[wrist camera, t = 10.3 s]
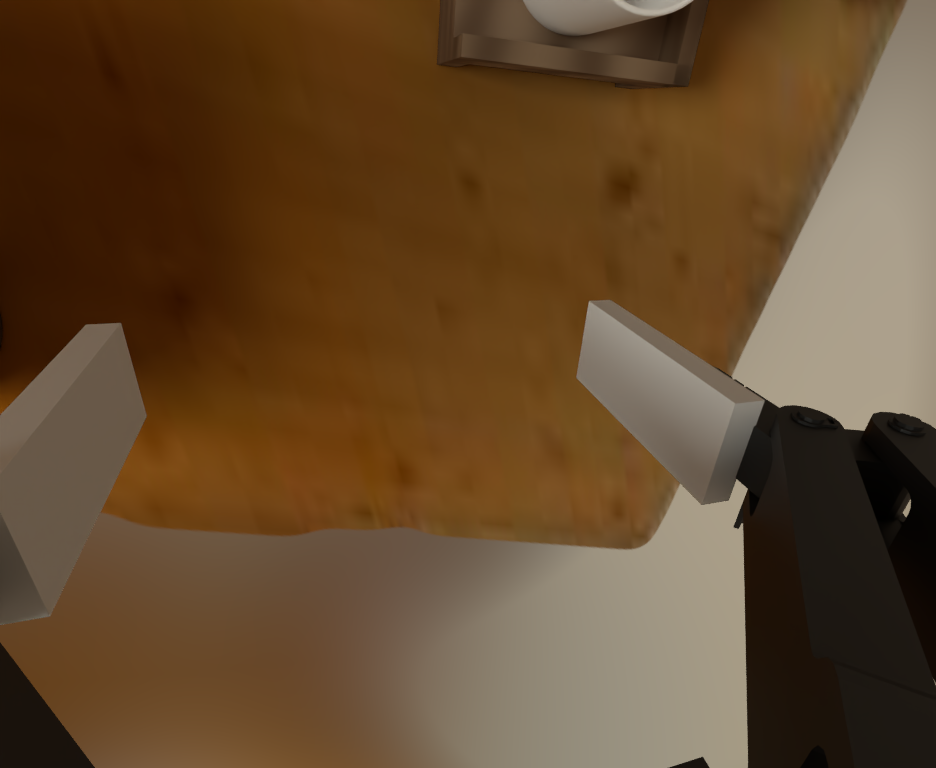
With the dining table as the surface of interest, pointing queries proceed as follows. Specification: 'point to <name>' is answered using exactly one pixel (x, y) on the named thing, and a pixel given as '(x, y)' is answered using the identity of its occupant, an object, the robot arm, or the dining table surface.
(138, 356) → the dining table surface
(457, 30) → the shelf
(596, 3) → the mug
